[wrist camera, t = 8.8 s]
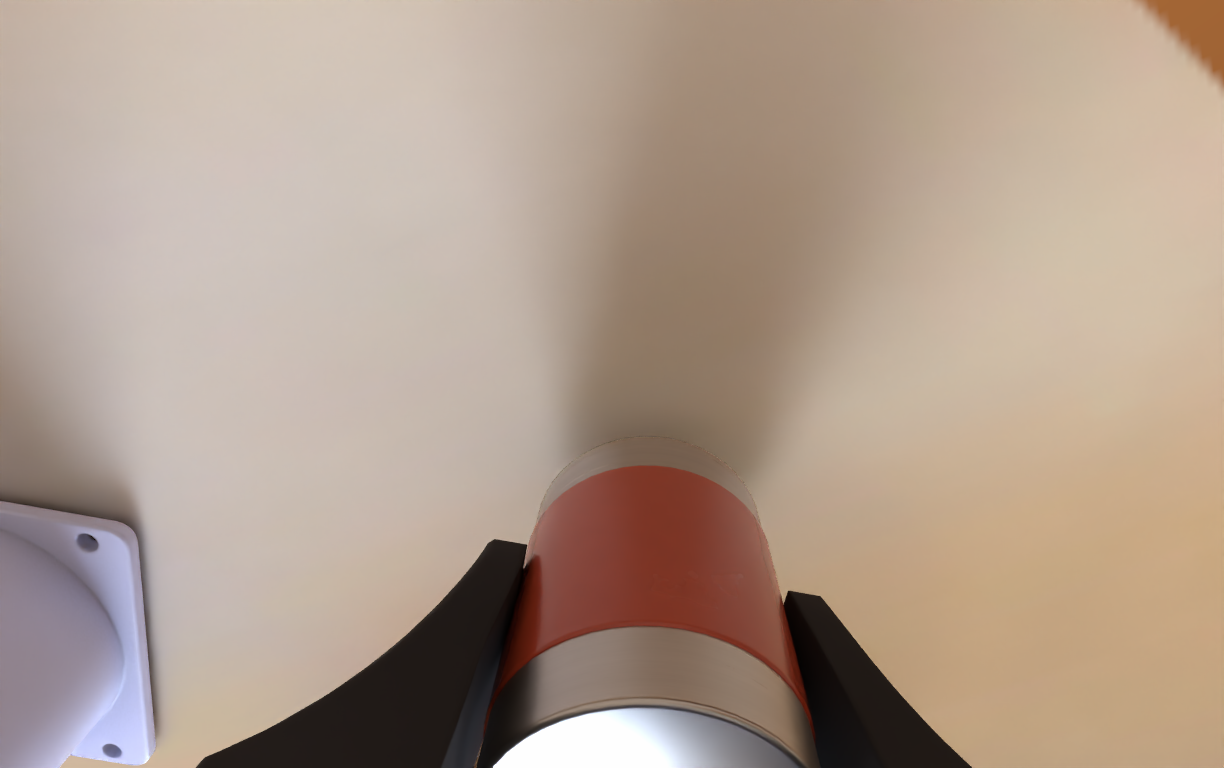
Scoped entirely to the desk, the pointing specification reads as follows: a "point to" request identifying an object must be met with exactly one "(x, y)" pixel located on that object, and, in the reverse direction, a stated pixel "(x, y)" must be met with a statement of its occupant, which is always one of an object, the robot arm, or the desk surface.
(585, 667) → the can
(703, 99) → the desk surface
